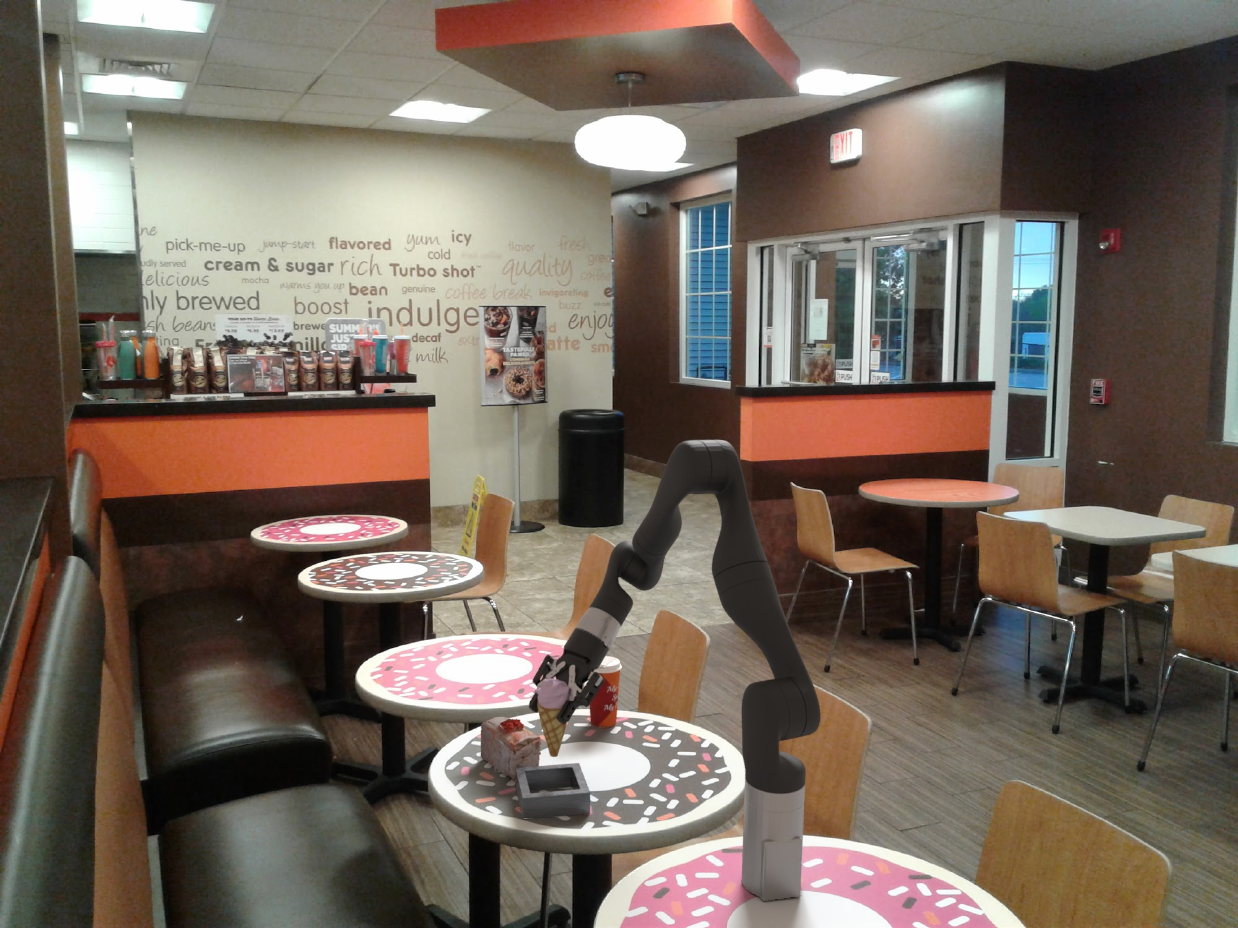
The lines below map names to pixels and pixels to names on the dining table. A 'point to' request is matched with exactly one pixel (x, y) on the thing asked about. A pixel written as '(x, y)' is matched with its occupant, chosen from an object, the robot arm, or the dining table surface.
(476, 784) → the dining table surface
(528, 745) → the food item
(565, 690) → the ice cream cone
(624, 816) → the dining table surface
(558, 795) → the hollow square frame
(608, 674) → the paper cup
